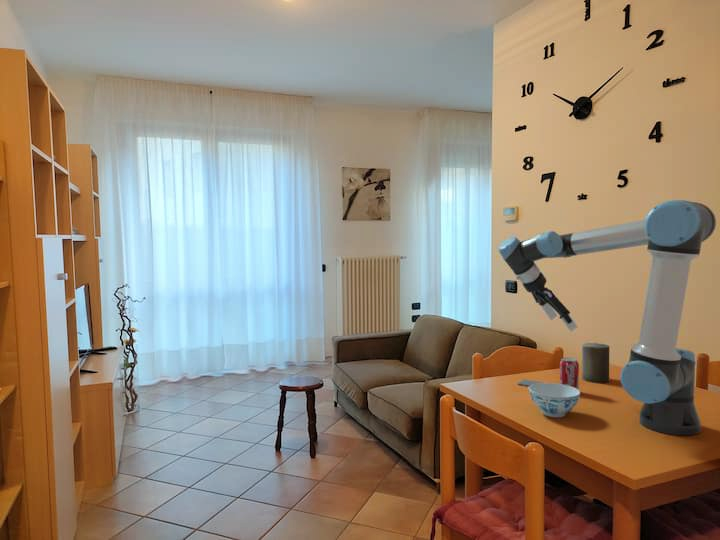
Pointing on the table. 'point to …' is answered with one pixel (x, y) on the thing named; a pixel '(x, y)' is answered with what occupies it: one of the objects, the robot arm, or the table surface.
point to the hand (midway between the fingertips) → (563, 323)
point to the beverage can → (569, 372)
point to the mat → (528, 382)
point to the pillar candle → (595, 362)
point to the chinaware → (554, 398)
